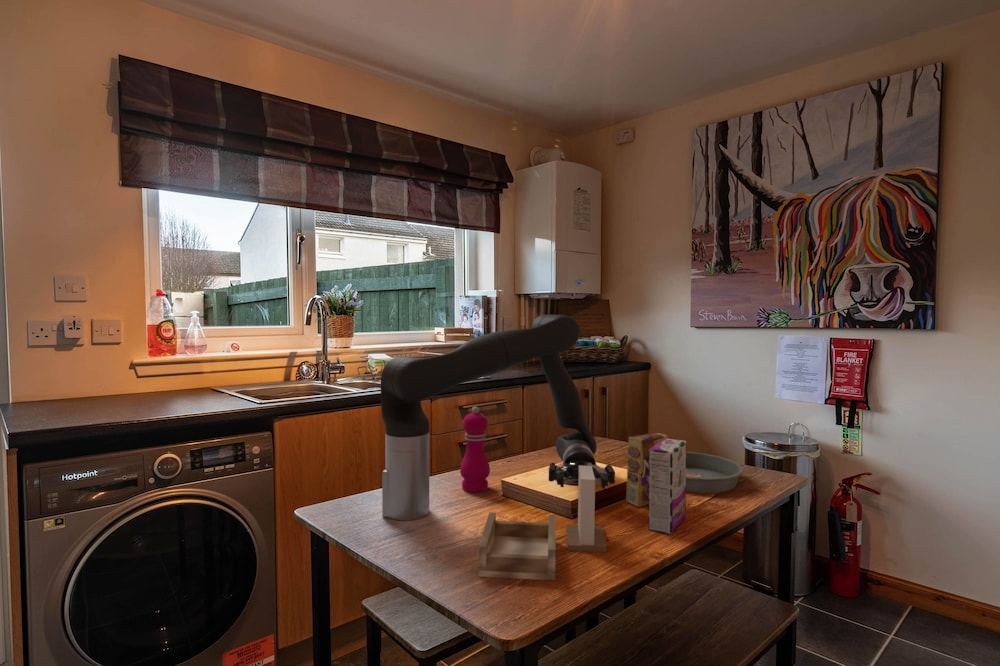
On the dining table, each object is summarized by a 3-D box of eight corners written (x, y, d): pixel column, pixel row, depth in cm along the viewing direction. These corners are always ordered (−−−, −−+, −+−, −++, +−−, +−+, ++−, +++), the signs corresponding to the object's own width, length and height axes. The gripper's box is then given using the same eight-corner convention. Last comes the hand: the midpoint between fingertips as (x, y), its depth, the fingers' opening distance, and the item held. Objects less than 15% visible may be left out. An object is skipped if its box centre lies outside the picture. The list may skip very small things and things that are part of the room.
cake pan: (623, 479, 145) (623, 462, 145) (673, 462, 162) (673, 446, 162) (714, 503, 127) (715, 484, 127) (760, 481, 144) (760, 464, 144)
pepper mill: (472, 482, 141) (473, 403, 141) (495, 487, 137) (496, 406, 136) (453, 489, 136) (454, 407, 135) (477, 495, 131) (477, 410, 130)
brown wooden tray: (478, 576, 91) (478, 546, 91) (489, 538, 107) (489, 512, 106) (555, 580, 90) (555, 549, 90) (554, 541, 105) (555, 514, 105)
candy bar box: (662, 513, 121) (663, 437, 120) (686, 517, 118) (687, 440, 117) (646, 530, 111) (647, 448, 110) (671, 535, 108) (673, 451, 108)
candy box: (639, 508, 123) (641, 439, 123) (625, 502, 127) (626, 435, 126) (667, 501, 128) (668, 434, 128) (652, 495, 132) (653, 431, 131)
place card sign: (567, 550, 101) (568, 479, 101) (566, 529, 111) (567, 464, 111) (606, 552, 101) (607, 480, 100) (602, 530, 111) (603, 465, 110)
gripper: (549, 445, 133) (548, 464, 117) (609, 447, 132) (618, 466, 116) (548, 477, 133) (548, 499, 117) (609, 479, 132) (617, 502, 116)
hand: (582, 483), depth 117 cm, fingers open, 8 cm apart
